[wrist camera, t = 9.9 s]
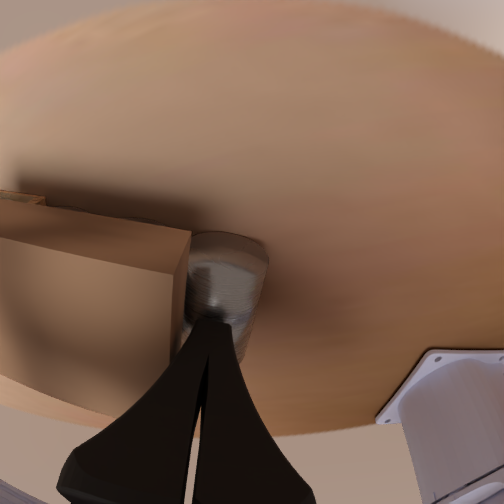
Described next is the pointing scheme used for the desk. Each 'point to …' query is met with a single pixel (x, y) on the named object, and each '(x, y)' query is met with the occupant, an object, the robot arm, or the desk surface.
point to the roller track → (211, 277)
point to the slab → (89, 304)
